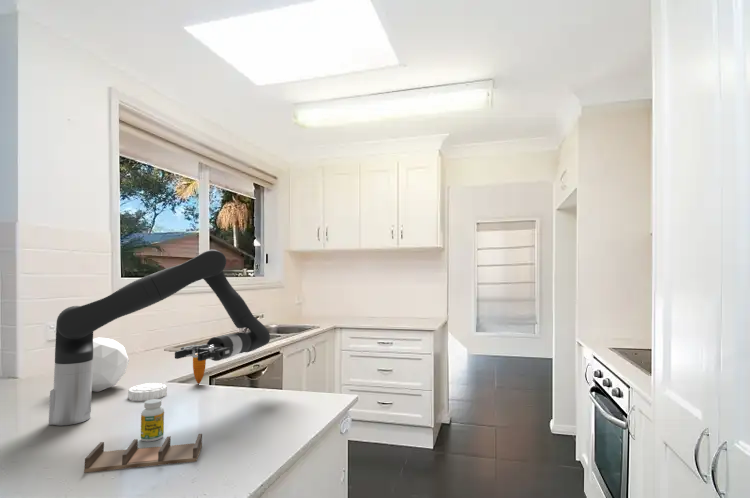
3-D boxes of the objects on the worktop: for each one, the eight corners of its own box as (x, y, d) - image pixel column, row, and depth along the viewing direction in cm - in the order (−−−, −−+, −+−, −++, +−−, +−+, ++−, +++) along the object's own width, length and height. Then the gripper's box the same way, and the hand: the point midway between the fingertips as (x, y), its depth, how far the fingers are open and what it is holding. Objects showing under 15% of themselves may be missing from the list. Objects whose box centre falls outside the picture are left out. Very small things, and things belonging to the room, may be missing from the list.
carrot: (194, 382, 167) (195, 344, 168) (207, 382, 168) (208, 343, 169) (189, 385, 162) (191, 346, 163) (203, 385, 163) (204, 346, 164)
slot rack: (84, 472, 92) (84, 458, 92) (99, 455, 100) (99, 442, 101) (196, 461, 98) (197, 447, 98) (202, 445, 106) (202, 433, 106)
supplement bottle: (162, 432, 115) (163, 396, 115) (164, 439, 110) (165, 402, 111) (139, 436, 112) (140, 400, 112) (141, 443, 107) (142, 405, 108)
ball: (106, 410, 154) (113, 372, 145) (50, 392, 151) (54, 352, 143) (135, 373, 171) (143, 337, 162) (85, 356, 168) (90, 319, 160)
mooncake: (174, 393, 153) (174, 383, 153) (149, 402, 142) (149, 392, 142) (145, 390, 156) (146, 380, 156) (119, 400, 144) (119, 389, 144)
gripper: (207, 334, 140) (168, 341, 125) (243, 336, 136) (206, 344, 120) (207, 356, 140) (167, 367, 125) (242, 359, 135) (206, 371, 120)
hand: (187, 356), depth 123 cm, fingers open, 8 cm apart
